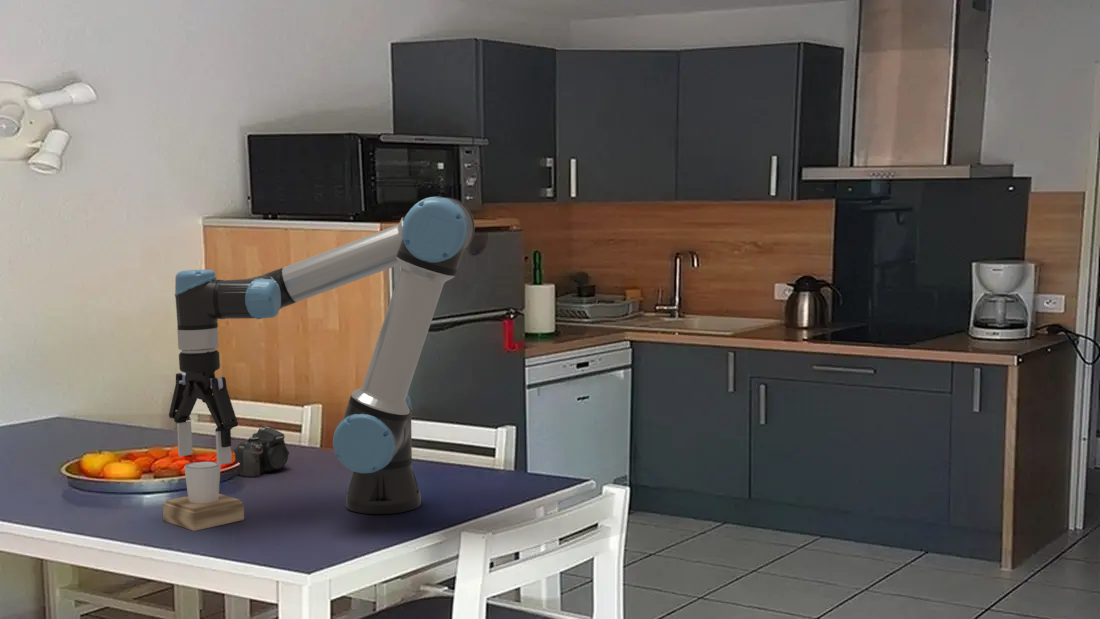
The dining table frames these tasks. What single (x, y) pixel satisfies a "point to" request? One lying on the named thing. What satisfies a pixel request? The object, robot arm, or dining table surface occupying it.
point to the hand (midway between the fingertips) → (204, 459)
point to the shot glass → (202, 481)
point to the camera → (261, 453)
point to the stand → (203, 512)
